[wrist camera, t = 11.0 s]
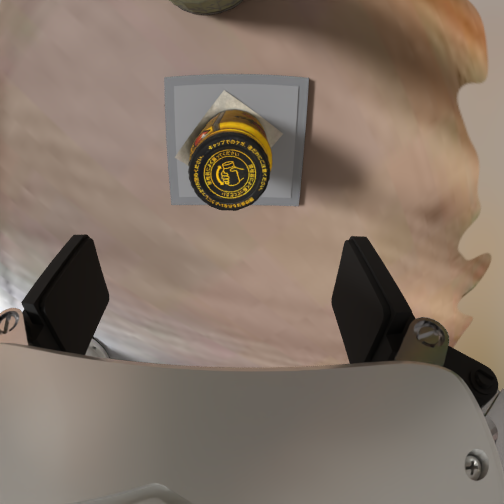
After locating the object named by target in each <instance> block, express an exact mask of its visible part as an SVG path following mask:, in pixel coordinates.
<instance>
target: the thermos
mask: <svg viewBox="0 0 504 504" xmlns="http://www.w3.org/2000/svg"><path fill="white" fill-rule="evenodd" d="M169 1H171V2H172V3H173V4H175V5H176V6H178V7H179V8H181V9H182V10H184V11H187V12H190V13H193V14H201V15H211V14H217V13H222V12H224V11H227V10H229V9H231V8H234V7H235V6H237V5H238V4H239V3H240V2H242V1H243V0H169Z"/></svg>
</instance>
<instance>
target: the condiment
mask: <svg viewBox="0 0 504 504" xmlns="http://www.w3.org/2000/svg"><path fill="white" fill-rule="evenodd" d="M282 135H283V133H282V132H280V131H279V130H278V129H277V128H275V127H274V126H273V125H271V124H270V123H269V122H268V121H266V120H265V119H264V118H262V117H261V116H260V115H258V114H257V113H256V112H254V111H253V110H251V109H250V108H249V107H247V106H246V105H245V104H243V103H242V102H240V101H239V100H237V99H236V98H235V97H233V96H232V95H230V94H229V93H227V92H226V91H225V90H224V91H223V92H222V93H221V95H220V96H219V97H218V99H217V100H216V101H215V102H214V104H213V105H212V106H211V108H210V109H209V110H208V112H207V113H206V114H205V116H204V117H203V118H202V120H201V121H200V122H199V124H198V125H197V126H196V128H195V129H194V130H193V132H192V133H191V135H190V136H189V137H188V139H187V140H186V142H185V143H184V145H183V146H182V147H181V149H180V150H179V152H178V153H177V155H176V156H175V158H176V159H178V160H179V161H181V162H183V163H185V164H186V165H188V166H189V169H188V174H189V180H190V182H191V186H192V188H193V189H194V192H195V193H196V195H197V196H198V197H199V198H200V199H201V200H202V201H203V202H205V203H207V204H208V205H209V206H211V207H214V208H217V209H219V210H233V211H236V210H239V209H242V208H244V207H247V206H249V205H252V204H253V203H254V202H256V201H257V200H258V199H259V197H260V196H261V195H262V194H263V193H264V191H265V190H266V188H267V185H268V181H269V180H270V172H271V168H272V151H271V147H272V146H273V145H274V144H275V143H276V142H277V141H278V139H279V138H280V137H281V136H282Z"/></svg>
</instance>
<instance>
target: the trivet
mask: <svg viewBox="0 0 504 504" xmlns="http://www.w3.org/2000/svg"><path fill="white" fill-rule="evenodd" d="M164 84H165V119H166V140H167V156H168V170H169V183H170V194H171V205H208V204H207V203H205V202H203V201H202V200H201V199H200V198H199V197H198V196H197V195H196V193H195V192H194V189H193V188H192V186H191V182H190V180H189V174H188V169H189V166H188V165H186V164H185V163H183V162H181V161H179V160H178V159H176V158H175V156H176V155H177V153H178V152H179V150H180V149H181V147H182V146H183V145H184V143H185V142H186V140H187V139H188V137H189V136H190V135H191V133H192V132H193V130H194V129H195V128H196V126H197V125H198V124H199V122H200V121H201V120H202V118H203V117H204V116H205V114H206V113H207V112H208V110H209V109H210V108H211V106H212V105H213V104H214V102H215V101H216V100H217V99H218V97H219V96H220V95H221V93H222V92H223V91H224V90H225V91H226V92H227V93H229V94H230V95H232V96H233V97H235V98H236V99H237V100H239V101H240V102H242V103H243V104H245V105H246V106H247V107H249V108H250V109H251V110H253V111H254V112H256V113H257V114H258V115H260V116H261V117H262V118H264V119H265V120H266V121H268V122H269V123H270V124H271V125H273V126H274V127H275V128H277V129H278V130H279V131H280V132H282V133H283V135H282V136H281V137H280V138H279V139H278V141H277V142H276V143H275V144H274V145H273V146H272V147H271V151H272V168H271V172H270V180H269V181H268V185H267V188H266V190H265V191H264V193H263V194H262V195H261V196H260V197H259V199H258V200H257V201H256V202H254V203H253V204H252V205H279V206H299V198H300V187H301V177H302V166H303V154H304V142H305V129H306V116H307V101H308V84H309V78H304V77H293V76H279V75H258V74H210V75H189V76H176V77H165V78H164Z"/></svg>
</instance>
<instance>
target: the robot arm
mask: <svg viewBox="0 0 504 504" xmlns="http://www.w3.org/2000/svg"><path fill="white" fill-rule="evenodd" d="M108 302H109V292H108V289H107V286H106V283H105V280H104V277H103V273H102V270H101V267H100V263H99V260H98V256H97V252H96V249H95V245H94V241H93V240H92V239H91V238H90V237H89V236H88V235H73V236H72V237H71V239H70V240H69V241H68V242H67V243H66V244H65V246H64V247H63V248H62V249H61V251H60V252H59V253H58V254H57V255H56V257H55V258H54V259H53V260H52V262H51V263H50V264H49V266H48V267H47V268H46V269H45V271H44V272H43V273H42V275H41V276H40V277H39V279H38V280H37V281H36V283H35V284H34V285H33V287H32V288H31V290H30V291H29V292H28V294H27V295H26V297H25V298H24V300H23V301H22V302H21V303H22V305H23V307H24V311H23V312H22V311H21V310H20V309H17V308H9V309H6V310H4V311H3V312H1V313H0V504H504V389H502V390H501V391H499V390H498V381H497V378H496V376H495V374H494V373H493V371H492V370H491V369H490V368H488V367H487V366H485V365H483V364H481V363H480V362H478V361H476V360H474V359H472V358H470V357H468V356H466V355H465V354H463V353H461V352H459V351H457V350H455V349H454V348H452V347H450V346H448V345H449V335H448V332H447V331H446V329H445V328H444V327H443V326H442V325H441V324H440V323H439V322H437V321H435V320H433V319H430V318H425V317H421V318H416V319H415V317H414V315H413V313H412V310H411V309H410V307H409V305H408V303H407V302H406V300H405V298H404V296H403V295H402V293H401V291H400V290H399V288H398V286H397V284H396V283H395V281H394V279H393V278H392V276H391V275H390V273H389V271H388V270H387V268H386V266H385V265H384V263H383V262H382V260H381V258H380V257H379V255H378V254H377V252H376V251H375V249H374V248H373V246H372V244H371V243H370V241H369V240H368V238H367V237H357V236H351V237H350V239H349V240H346V241H345V243H344V247H343V252H342V256H341V261H340V265H339V270H338V274H337V278H336V283H335V287H334V291H333V295H332V307H333V310H334V313H335V317H336V320H337V323H338V326H339V329H340V332H341V336H342V339H343V342H344V345H345V349H346V352H347V355H348V359H349V362H350V364H340V365H323V366H303V367H274V368H230V367H199V366H180V365H166V364H154V363H143V362H133V361H124V360H116V359H109V356H108V354H107V352H106V351H105V350H104V348H103V347H102V346H101V345H100V344H99V343H98V342H97V341H95V340H94V339H93V335H94V333H95V331H96V328H97V326H98V324H99V322H100V319H101V317H102V315H103V313H104V311H105V309H106V306H107V304H108Z"/></svg>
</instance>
